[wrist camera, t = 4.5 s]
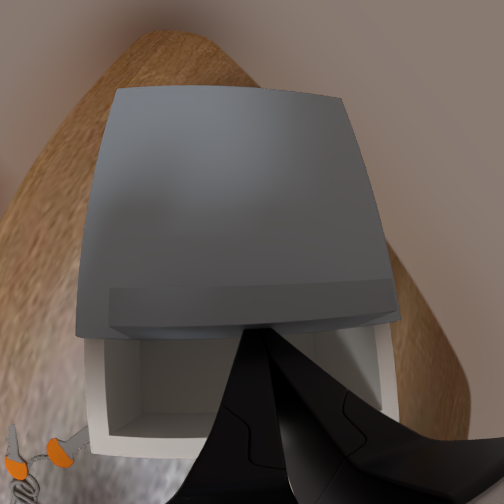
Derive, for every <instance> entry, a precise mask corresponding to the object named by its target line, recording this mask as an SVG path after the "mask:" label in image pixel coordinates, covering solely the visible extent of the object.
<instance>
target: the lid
mask: <svg viewBox="0 0 504 504" xmlns="http://www.w3.org/2000/svg"><path fill="white" fill-rule="evenodd" d="M398 320H401V316H400V309H399V304H398V298H397V292H396V287H395V282H394V277H393V272H392V267H391V262H390V258H389V253H388V249H387V244H386V240H385V236H384V232H383V228H382V224H381V220H380V216H379V213H378V209H377V205H376V201H375V198H374V194H373V191H372V187H371V184H370V181H369V178H368V174H367V171H366V167H365V164H364V161H363V158H362V155H361V152H360V149H359V146H358V143H357V140H356V137H355V135H354V132H353V129H352V126H351V124H350V121H349V118H348V115H347V113H346V110H345V107H344V105H343V102H342V100H341V98H335V97H329V96H322V95H316V94H309V93H302V92H294V91H284V90H275V89H264V88H251V87H234V86H196V85H188V86H151V87H134V88H121V89H117V91H116V94H115V98H114V101H113V104H112V107H111V110H110V114H109V117H108V121H107V124H106V128H105V131H104V135H103V139H102V143H101V147H100V151H99V155H98V159H97V163H96V168H95V172H94V177H93V182H92V187H91V192H90V197H89V203H88V208H87V214H86V221H85V227H84V234H83V242H82V249H81V258H80V267H79V278H78V291H77V307H76V336H77V337H80V338H94V339H125V340H190V339H222V338H241V335H242V332H243V330H244V329H257V330H258V329H260V328H272V329H274V330H275V331H276V332H277V333H279V334H280V335H287V334H299V333H310V332H320V331H329V330H338V329H347V328H355V327H363V326H371V325H378V324H385V323H392V322H395V321H398Z"/></svg>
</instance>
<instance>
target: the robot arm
mask: <svg viewBox="0 0 504 504" xmlns="http://www.w3.org/2000/svg"><path fill="white" fill-rule="evenodd" d="M288 478H289V480H288ZM289 481H290V483H291V486H292V489H293V492H294V494H293V492H292V490H291V487H290V484H289ZM294 495H295V496H294ZM165 504H504V437H501V438H491V439H477V440H455V441H440V440H434V439H430V438H427V437H424V436H422V435H420V434H418V433H416V432H415V431H413V430H411V429H409V428H408V427H406V426H404V425H402V424H401V423H399V422H397V421H395V420H394V419H392V418H390V417H388V416H387V415H385V414H383V413H382V412H380V411H379V410H377V409H375V408H374V407H372V406H371V405H369V404H368V403H367V402H365V401H364V400H362V399H361V398H360V397H358V396H357V395H356V394H354V393H353V392H352V391H350V390H347V388H346V387H345V386H344V385H342V384H341V383H340V382H339V381H337V380H336V379H335V378H333V377H332V376H331V375H330V374H328V373H327V372H326V371H324V370H323V369H322V368H321V367H319V366H318V365H317V364H316V363H314V362H313V361H312V360H311V359H309V358H308V357H307V356H306V355H304V354H303V353H302V352H301V351H299V350H298V349H297V348H296V347H294V346H293V345H292V344H291V343H290V342H288V341H287V340H286V339H285V338H283V337H282V336H281V335H280V334H279V333H277V332H276V331H275V330H274V329H272V328H260V329H258V330H257V329H244V330H243V332H242V335H241V339H240V342H239V345H238V348H237V352H236V355H235V358H234V361H233V365H232V368H231V371H230V374H229V377H228V381H227V384H226V387H225V390H224V394H223V397H222V400H221V403H220V406H219V409H218V412H217V415H216V418H215V421H214V423H213V426H212V429H211V431H210V433H209V435H208V438H207V440H206V442H205V444H204V446H203V448H202V449H201V451H200V453H199V455H198V457H197V459H196V461H195V462H194V464H193V466H192V468H191V470H190V471H189V473H188V475H187V477H186V479H185V480H184V482H183V484H182V485H181V487H180V488H179V490H178V491H177V492H176V494H175V495H174V496H173V497H172V498H171V499H170V500H169V501H168V502H167V503H165Z"/></svg>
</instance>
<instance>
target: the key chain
mask: <svg viewBox="0 0 504 504" xmlns="http://www.w3.org/2000/svg"><path fill="white" fill-rule="evenodd" d="M8 431H9V438H6V440H7V441H8V444H9V445H10V447H9V446H8V449H7V450H8V452H9V454H8V456H5V465H6V468H7V470H8V471H9V473H10V474H11V475H12V476H13V477H14V478H16V479H17V480H14V481H12V482H11V484H10V491H11V493H12V499H11V503H10V504H15V501H16V500H17V501H18V502H19V503H21V504H36V503H37V495H38V492H39V486H38V484H37V482H36V480H35V479H34V478H33V477H32V476H31V475H29V474H28V473H29V471H28V469H30V465H32V464H33V463H32V462H35V461H36V459H37V460H40V459H41V458H42V459H46V458H47V459H48V460H51V461H52V462H53V463H54V464H55V465H57V466H59V467H63V468H66V467H70V466H71V465H72V464H73V462H74V461H73V453H74V454H75V455H76V454H78V453H77V452H78V451H79V450H78V449H77V448H79V447H80V449H82V448H84V449H85V448H86V446H85V444H84V443H87V444H89V443H90V442H89V440H90V438H89V429H88V426H86V427H85V428H84V429H82V430H81V431H80V432H78V433H77V434H76V435H74V436H73V437H72V438H70V439H69V440H67V441H66V442H64V441H61V440H57V438H56V439H52V440H50V441H49V443H48V444H47V454H48V455H47V456H45V455H41V456H36V458H35V457H33V458H32V460H29V462H28V464H27V465H26V462H24V461H23V460H22V458H21V457H20V456H19V450H18V443H17V434H16V428H15V424H13V425H10V426H8ZM26 477H29V478H30V479H31V480H32V481H33V482H34V484H35V488H36V490H35V491H34V489H33V488H32V487H31V486H30V485H29V484H28V483H26V482H24V481H22V480H24V479H25V478H26ZM16 484H19V486H20V488H21V490H22V491H23V492H24V493H25V494H27V495H29V496H31V497H34V499H33V501H32V500H30V499H29V498H27V497H26V496H24V495H22V494H20V493H18V492H16V491H14V486H15V485H16ZM22 485H24V486H26V487H27V488H28V489H29V490H31V492H32V493H29V492H27V491H26V490H25V489H24V488H23V486H22ZM17 496H18V497H20V498H22V499H24V500H25V501H27V502H28V503H26V502H24V501H22V500H20V499H19V498H18V497H17Z"/></svg>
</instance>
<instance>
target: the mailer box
mask: <svg viewBox="0 0 504 504" xmlns="http://www.w3.org/2000/svg"><path fill="white" fill-rule="evenodd" d="M281 336H282V337H283V338H285V339H286V340H287V341H288V342H290V343H291V344H292V345H293V346H294V347H296V348H297V349H298V350H299V351H301V352H302V353H303V354H304V355H306V356H307V357H308V358H309V359H311V360H312V361H313V362H314V363H316V364H317V365H318V366H319V367H321V368H322V369H323V370H324V371H326V372H327V373H328V374H330V375H331V376H332V377H333V378H335V379H336V380H337V381H339V382H340V383H341V384H342V385H344V386H345V387H346V388H347V390H350V391H352V392H353V393H354V394H356V395H357V396H358V397H360V398H361V399H362V400H364V401H365V402H367V403H368V404H369V405H371V406H372V407H374V408H375V409H377V410H379V411H380V412H382V413H383V414H385V415H387V416H388V417H390V418H392V419H394V420H395V421H397V422H399V410H398V396H397V384H396V374H395V364H394V355H393V347H392V339H391V332H390V325H389V323H385V324H378V325H371V326H363V327H355V328H347V329H338V330H329V331H320V332H310V333H299V334H287V335H281ZM240 339H241V338H222V339H190V340H125V339H94V338H84V366H85V391H86V407H87V418H88V429H89V438H90V446H91V453H93V454H101V455H111V456H122V457H136V458H160V459H193V458H197V457H198V455H199V453H200V451H201V449H202V448H203V446H204V444H205V442H206V440H207V438H208V435H209V433H210V431H211V429H212V426H213V423H214V421H215V418H216V415H217V412H218V409H219V406H220V403H221V400H222V397H223V394H224V390H225V387H226V384H227V381H228V377H229V374H230V371H231V368H232V365H233V361H234V358H235V355H236V352H237V348H238V345H239V342H240Z"/></svg>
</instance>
